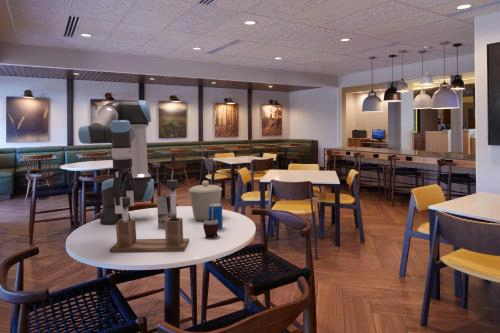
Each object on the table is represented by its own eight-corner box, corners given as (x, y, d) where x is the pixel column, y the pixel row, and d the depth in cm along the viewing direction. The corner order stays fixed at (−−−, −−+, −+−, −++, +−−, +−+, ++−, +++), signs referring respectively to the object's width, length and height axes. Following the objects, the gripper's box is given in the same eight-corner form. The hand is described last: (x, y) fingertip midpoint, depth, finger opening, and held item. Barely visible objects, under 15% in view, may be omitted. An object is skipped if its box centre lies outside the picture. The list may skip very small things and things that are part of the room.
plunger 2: (169, 223, 148) (168, 179, 146) (180, 222, 148) (178, 179, 146) (167, 225, 144) (165, 181, 142) (178, 225, 144) (176, 181, 142)
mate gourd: (208, 240, 155) (207, 206, 153) (200, 235, 161) (199, 203, 159) (222, 236, 159) (222, 204, 157) (214, 232, 165) (213, 201, 164)
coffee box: (169, 229, 173) (168, 197, 171) (157, 228, 174) (156, 196, 172) (177, 224, 181) (176, 193, 180) (165, 223, 183) (164, 193, 181)
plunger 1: (123, 240, 149) (121, 197, 147) (133, 239, 149) (131, 196, 147) (119, 243, 144) (117, 199, 142) (130, 243, 144) (128, 199, 142)
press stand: (120, 242, 153) (118, 217, 151) (189, 241, 153) (188, 215, 152) (109, 252, 141) (108, 224, 140) (184, 251, 141) (183, 223, 140)
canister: (187, 216, 197) (186, 179, 195) (218, 213, 203) (217, 177, 201) (192, 224, 180) (191, 184, 178) (226, 221, 186) (225, 182, 184)
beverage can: (210, 226, 175) (210, 203, 174) (223, 227, 175) (222, 203, 173) (208, 230, 169) (207, 206, 168) (221, 230, 168) (220, 206, 167)
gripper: (120, 161, 130) (123, 216, 133) (140, 155, 155) (143, 202, 157) (100, 161, 130) (103, 217, 133) (123, 156, 155) (126, 203, 157)
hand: (125, 209), depth 145 cm, fingers open, 13 cm apart
